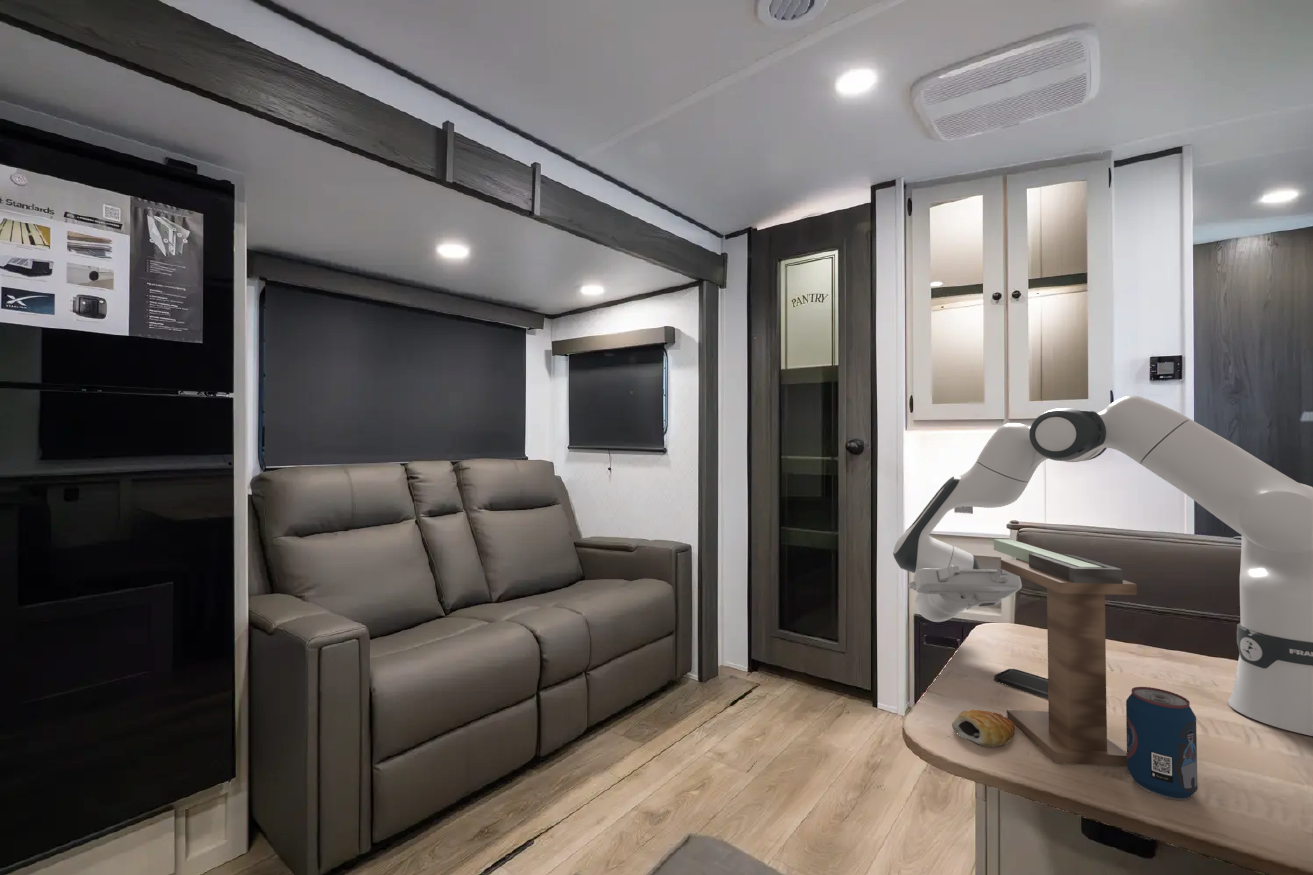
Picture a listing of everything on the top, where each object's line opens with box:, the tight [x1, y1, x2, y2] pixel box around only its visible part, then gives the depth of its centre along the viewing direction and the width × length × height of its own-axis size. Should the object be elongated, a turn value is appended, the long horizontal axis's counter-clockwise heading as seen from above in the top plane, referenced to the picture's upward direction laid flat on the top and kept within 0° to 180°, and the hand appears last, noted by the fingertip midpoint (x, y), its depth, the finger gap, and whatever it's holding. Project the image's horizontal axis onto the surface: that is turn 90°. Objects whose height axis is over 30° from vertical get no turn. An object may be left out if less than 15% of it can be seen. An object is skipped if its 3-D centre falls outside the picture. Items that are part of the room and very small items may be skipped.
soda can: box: [1125, 686, 1198, 801], centre depth 74 cm, size 7×7×12 cm
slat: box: [993, 538, 1102, 568], centre depth 91 cm, size 3×24×2 cm, turn 175°
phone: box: [993, 668, 1048, 700], centre depth 104 cm, size 8×1×15 cm
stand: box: [1000, 553, 1138, 768], centre depth 86 cm, size 10×16×28 cm, turn 175°
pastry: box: [951, 708, 1016, 748], centre depth 88 cm, size 9×7×4 cm
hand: (980, 569), depth 112 cm, fingers open, 8 cm apart
